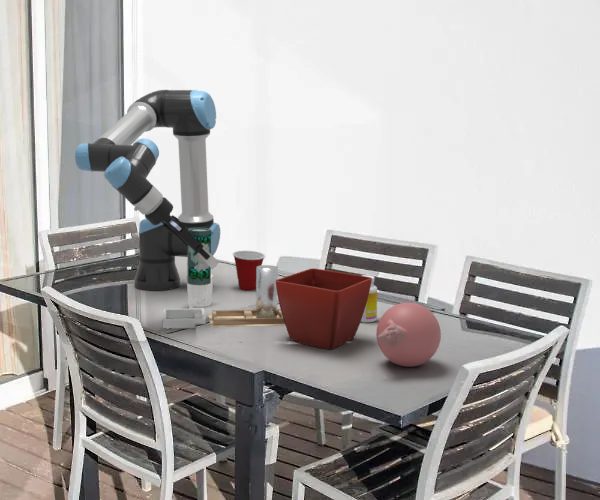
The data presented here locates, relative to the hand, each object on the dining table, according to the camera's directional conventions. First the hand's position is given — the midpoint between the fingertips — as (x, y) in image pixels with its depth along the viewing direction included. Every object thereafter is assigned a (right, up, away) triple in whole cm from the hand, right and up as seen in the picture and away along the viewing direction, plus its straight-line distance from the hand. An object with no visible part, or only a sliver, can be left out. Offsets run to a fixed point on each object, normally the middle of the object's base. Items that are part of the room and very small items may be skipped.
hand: (211, 263), depth 229 cm
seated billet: (+15, -16, +4) cm, 22 cm away
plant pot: (+30, -21, -11) cm, 38 cm away
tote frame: (-8, -17, +3) cm, 19 cm away
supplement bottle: (+43, -17, +10) cm, 48 cm away
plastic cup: (+7, -10, +45) cm, 47 cm away
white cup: (-6, -14, +19) cm, 25 cm away
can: (-4, -6, 0) cm, 7 cm away
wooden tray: (+10, -17, +3) cm, 20 cm away
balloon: (+49, -25, -31) cm, 63 cm away
